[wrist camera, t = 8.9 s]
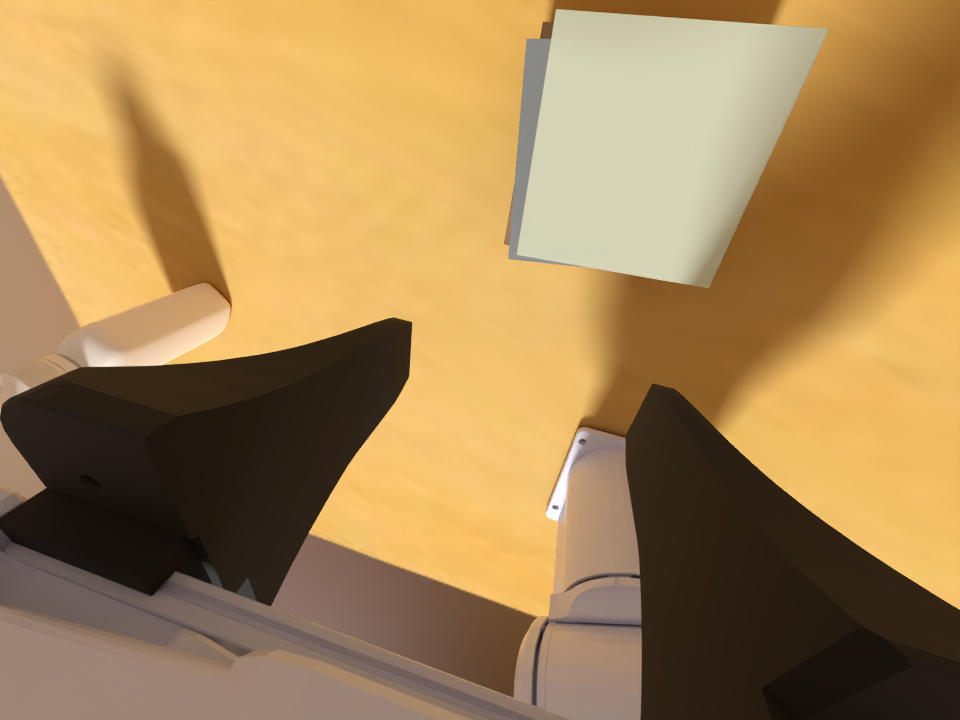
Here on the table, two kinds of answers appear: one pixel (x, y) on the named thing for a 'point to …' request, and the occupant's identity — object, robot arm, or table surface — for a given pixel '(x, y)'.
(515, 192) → the slate gray middle block
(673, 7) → the table surface
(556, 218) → the sage cube
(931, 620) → the robot arm
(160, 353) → the eye dropper bottle
